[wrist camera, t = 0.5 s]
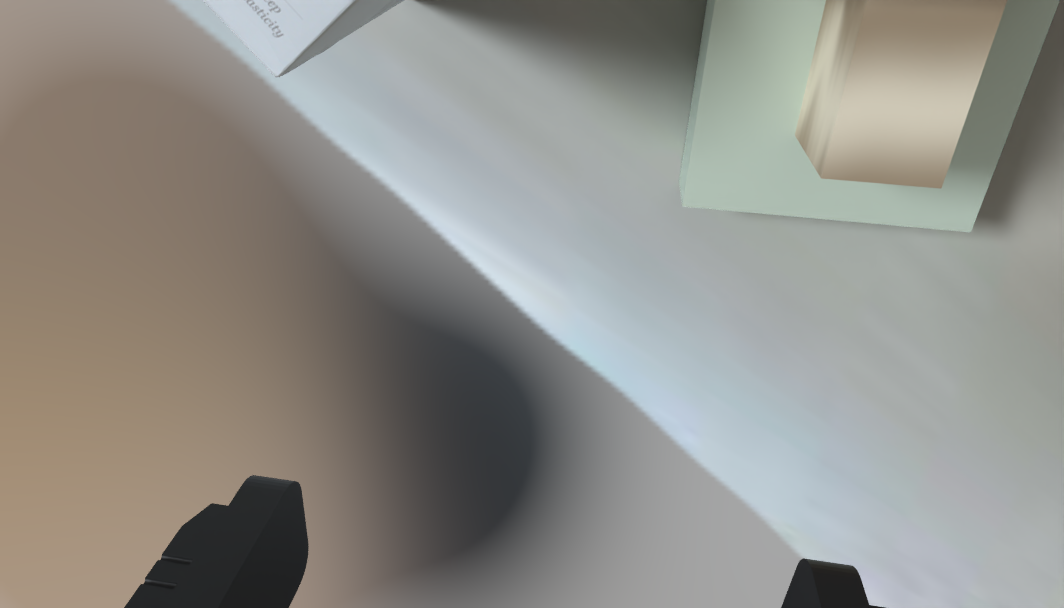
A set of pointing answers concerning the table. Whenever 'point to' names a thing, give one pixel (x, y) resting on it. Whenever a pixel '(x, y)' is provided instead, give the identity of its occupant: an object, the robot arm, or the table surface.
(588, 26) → the table surface
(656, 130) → the table surface
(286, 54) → the skincare box
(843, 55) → the birch block
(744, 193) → the tunnel deck
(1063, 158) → the table surface
